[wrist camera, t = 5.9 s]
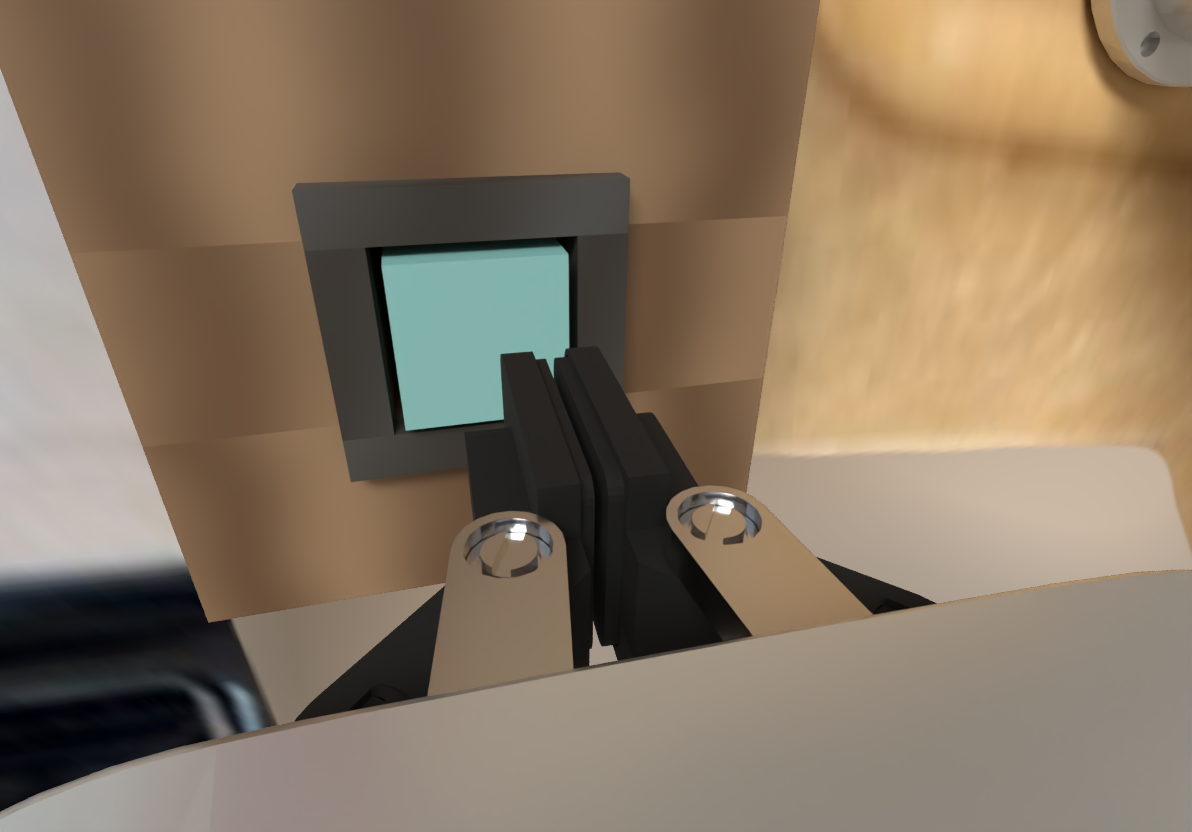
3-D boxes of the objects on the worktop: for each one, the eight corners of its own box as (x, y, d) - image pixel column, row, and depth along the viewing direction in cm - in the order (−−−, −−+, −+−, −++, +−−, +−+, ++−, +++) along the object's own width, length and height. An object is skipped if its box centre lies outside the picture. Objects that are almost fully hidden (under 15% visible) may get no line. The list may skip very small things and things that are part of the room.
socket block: (677, -25, 22) (849, -60, 14) (651, 406, 30) (751, 548, 22) (125, -45, 18) (-94, -110, 10) (261, 452, 26) (201, 644, 18)
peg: (506, 176, 23) (568, 254, 15) (511, 287, 25) (569, 411, 17) (385, 180, 22) (381, 265, 14) (401, 295, 24) (405, 430, 16)
